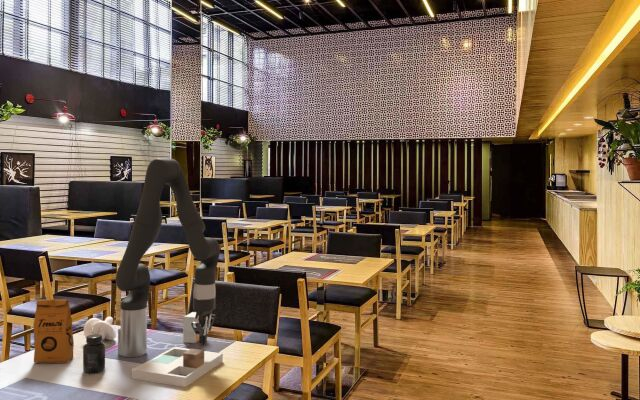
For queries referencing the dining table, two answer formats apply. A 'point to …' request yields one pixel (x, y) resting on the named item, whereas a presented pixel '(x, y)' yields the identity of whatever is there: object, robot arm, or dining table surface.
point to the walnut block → (193, 358)
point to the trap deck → (175, 368)
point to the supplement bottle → (94, 354)
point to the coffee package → (53, 332)
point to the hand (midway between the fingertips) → (202, 344)
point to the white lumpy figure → (100, 328)
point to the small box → (189, 329)
